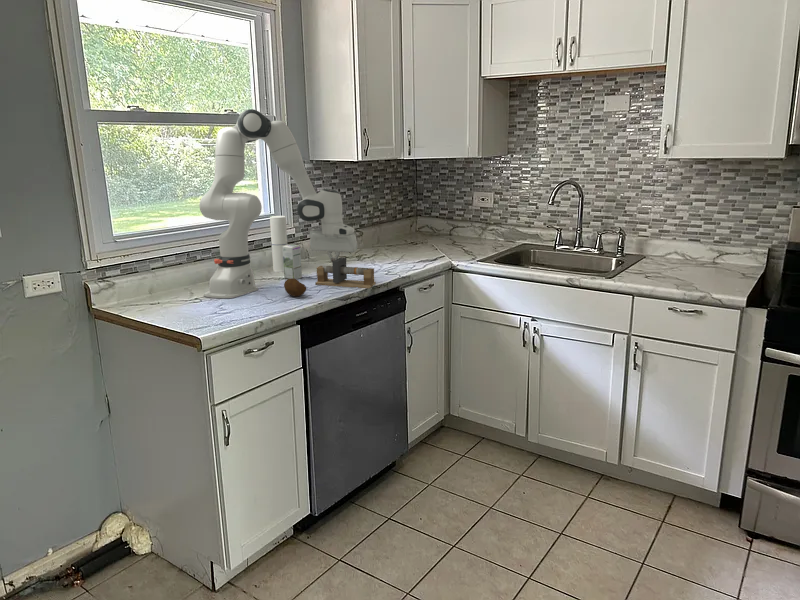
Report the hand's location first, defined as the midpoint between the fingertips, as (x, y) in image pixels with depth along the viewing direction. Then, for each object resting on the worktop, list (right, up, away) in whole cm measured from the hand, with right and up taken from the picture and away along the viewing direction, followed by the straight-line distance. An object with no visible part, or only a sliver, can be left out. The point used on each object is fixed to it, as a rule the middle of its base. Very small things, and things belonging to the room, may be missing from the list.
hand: (333, 261), depth 254 cm
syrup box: (-19, -7, +13) cm, 24 cm away
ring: (+2, -8, +1) cm, 8 cm away
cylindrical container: (-28, -2, +29) cm, 40 cm away
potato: (-14, -15, -17) cm, 26 cm away
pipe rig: (+5, -9, 0) cm, 11 cm away
